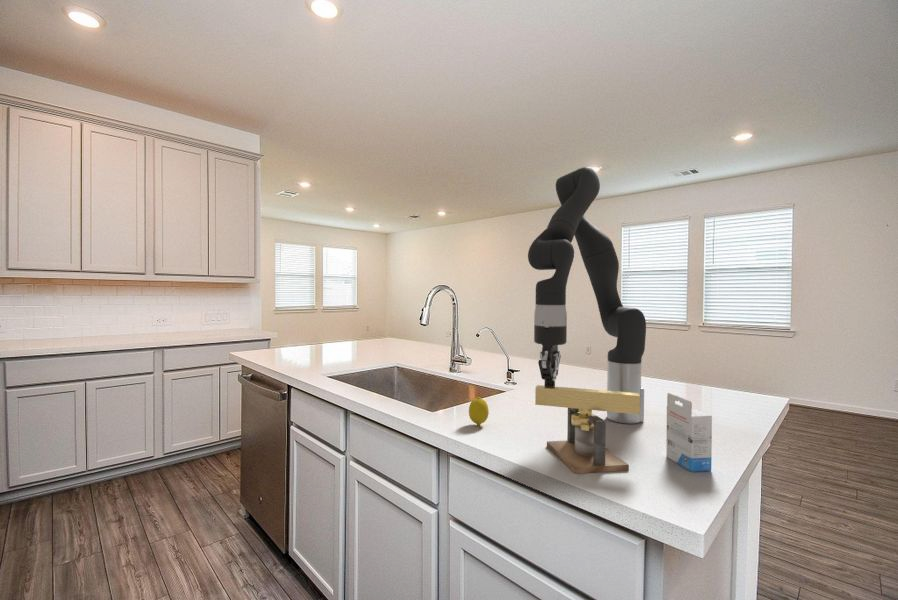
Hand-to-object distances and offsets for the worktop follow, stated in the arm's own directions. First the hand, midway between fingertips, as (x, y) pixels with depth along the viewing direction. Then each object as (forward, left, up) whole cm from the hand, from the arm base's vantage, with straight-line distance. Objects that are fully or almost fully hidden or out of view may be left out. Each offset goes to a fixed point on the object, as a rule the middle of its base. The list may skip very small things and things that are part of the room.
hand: (549, 395), depth 97 cm
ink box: (-27, +13, -13) cm, 32 cm away
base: (-6, +7, -13) cm, 15 cm away
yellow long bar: (-6, +7, -5) cm, 10 cm away
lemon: (+13, -18, -13) cm, 26 cm away
